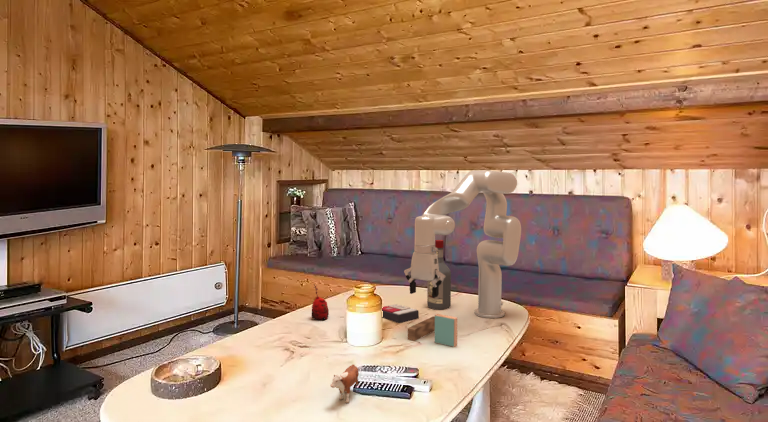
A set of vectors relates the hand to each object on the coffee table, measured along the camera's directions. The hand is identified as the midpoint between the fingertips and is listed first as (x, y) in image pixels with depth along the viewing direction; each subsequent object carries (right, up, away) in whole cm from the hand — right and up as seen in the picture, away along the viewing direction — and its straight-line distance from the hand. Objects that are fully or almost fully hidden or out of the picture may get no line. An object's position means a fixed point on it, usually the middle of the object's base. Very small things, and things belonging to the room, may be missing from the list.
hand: (423, 295), depth 192 cm
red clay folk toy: (-41, -13, +21) cm, 48 cm away
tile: (+7, -16, -10) cm, 20 cm away
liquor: (+10, -12, +38) cm, 41 cm away
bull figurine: (-25, -20, -52) cm, 61 cm away
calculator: (-9, -14, +23) cm, 29 cm away
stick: (0, -15, +2) cm, 15 cm away
